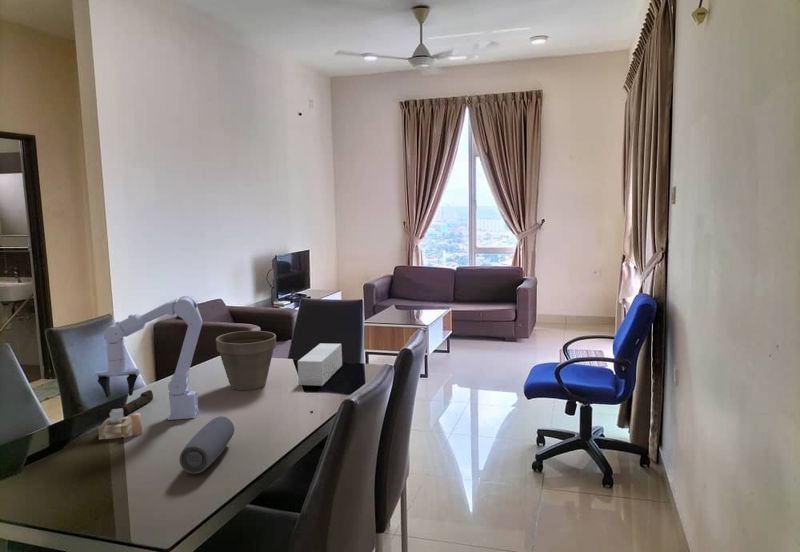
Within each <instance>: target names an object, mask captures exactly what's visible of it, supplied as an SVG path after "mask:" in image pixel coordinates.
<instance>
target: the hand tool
mask: <svg viewBox="0 0 800 552" xmlns="http://www.w3.org/2000/svg"><path fill="white" fill-rule="evenodd" d="M153 400H154V394H153V391H152V390H151V389H149V390H146V391H144V392H141V394H140V396H138V397H137V398H134V399H133V400H131V401H130V402H128V403H126V404H123V405H122V406H119V407H118V408H117V409H120V408H123V415H124V417H128V415H130V414H131V413H132V412H133V411H135V410H137V409H138V408H140V407H141V406H143V405H149V404H150V403H152V401H153Z"/></svg>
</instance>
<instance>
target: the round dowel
mask: <svg viewBox="0 0 800 552" xmlns="http://www.w3.org/2000/svg"><path fill="white" fill-rule="evenodd" d="M130 414H131V413H130ZM130 416H131V422H132V433H131V434H132V436H133V435H139V436H141V435H143V425H142V424H143V423H142V415H141V413H140V412H134V413H132V414H131V415H130ZM140 434H141V435H140Z"/></svg>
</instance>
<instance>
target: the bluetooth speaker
mask: <svg viewBox="0 0 800 552" xmlns="http://www.w3.org/2000/svg"><path fill="white" fill-rule="evenodd" d="M234 433H235V426H234V423H233V422H232V420H231V419H229V418H228V417H225V416H221V415H220V416H216V417H214V418H212V419H211V420H210V421H208V422H207V423H206V424H205V425H204V426H203V427H202V428H201V429H199V430H198V431H197V432H196V433H195V435H194V436H193V437H192V438H191V439H190V440H189V441H188V443H187V444H186V445H185V446H184V447H183V449H182V451H181V452H180V455H179V460H178V461H179V464H180V467H181V468H182V470H183V471H185V472H187V473H189V474H200V473H202V472H204V471H205V470H207V468H209V467H210V466H211V465H212V464H213V463H214V462H215V461H216V460H217V459H218V457H219V456H220V455H221V454H222V453H223V452H224V450H225V448H226V446H228V444H229V443H230V441H231V439H232V438H233V435H234Z"/></svg>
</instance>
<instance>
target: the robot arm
mask: <svg viewBox="0 0 800 552" xmlns="http://www.w3.org/2000/svg"><path fill="white" fill-rule="evenodd" d="M166 315H167V316H169V315H170V316H174V315H176V316H177V317H179V318H181V319H182V320H183V321H184V322H185V324H186V326H187V328H186V332H185V336H184V340H183V343H182V346H181V350H180V353H179V358H178V361H177V363H176V368H175V371H174V373H173V375H172V376H171V378H170V381H169V382H168V385H167V389H168V391H169V392H168V395H169V396H168V397H169V399H168V400H169V409H170V414H169V416H168V418H167V421H173V420H185V419H194V418H196V416H197V414H198V413H199V411H200V410H199V402H198V400H199V399H198V392H197V391H196V390H195V391H194V390H191V389H190V387H189V386H188V385H189V382H190V376H189V375H190V368H191V365H192V362H193V358H194V356H195V355H194V354H195V350H196V346H197V344H198V340H199V336H200V333H201V330H202V326H203V319H202V315H201V312H200V310H199V307H198V303H197V302H196V301H195V299H194V298H192V296H191V297H190V296H189V295H184V296H181V297H179V298H178V299H177V298H175V299H173V300H170V301H168V302H165V303H163V304H161V305H159V306H157V307H156V308H153V309H151V310H150V311H147V312H146V313H144V314H142V315H141V314H137V313H136V314H134V315H133V314H132V313H131V314H129V315H128V317H127V318H125V319H123V320H122V321H121V320H120V321H116V322H115V323H114V324H111V325H110V326H109V327H107V328H106V329H105V330H104V332H103V339H104V340H105V343H106V348H105V349H106V356H107V368H108V369H105V370H99V371H98V370H97V371H95V372H94V377H95V379H97V383H98V384H99V385H100V387H101V388H102V390H103V392H104V394H105V398H109V397H110V396H111V388H110V387H111V386H110V382H111V381H110V378H111V377H125V376H126V382H127V386H128V395H129V396H130V397H131V396H132V395H133V394H134V388H135V384H136V382H137V378H138V377H139V375H140V374H141V369H140V368H128V367H127V361H126V350H125V349H126V348H125V340H124V337H125V338H127V337H128V336H129V337H130V336H131V335H133V334H135V333H137V332H139V331H141V330H143V329H144V328H145V326H146V324H147V323H149V322H152V321H154V320H155V319H158V318H162V317H163V316H166Z"/></svg>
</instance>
